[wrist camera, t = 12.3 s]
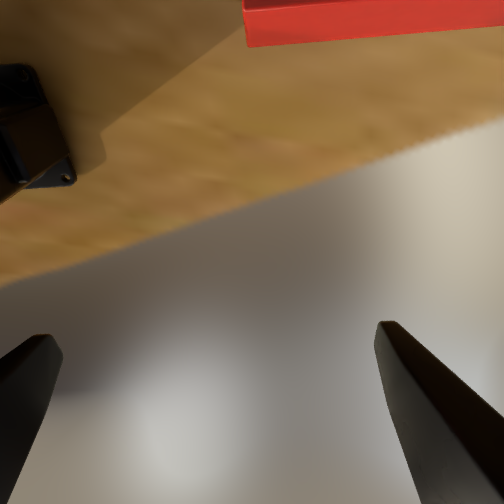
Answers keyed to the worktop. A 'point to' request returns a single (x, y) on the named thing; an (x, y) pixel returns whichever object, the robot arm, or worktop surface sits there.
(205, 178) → the worktop surface
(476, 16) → the lever
